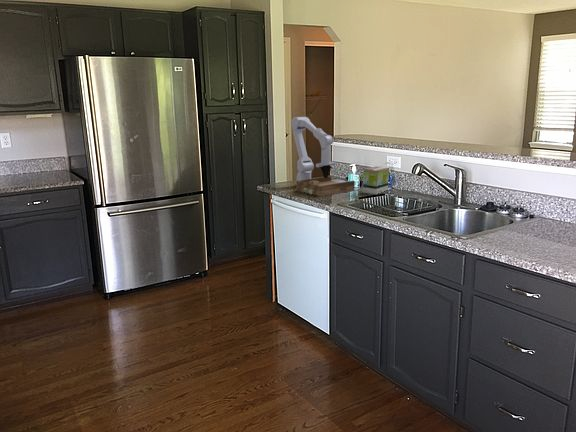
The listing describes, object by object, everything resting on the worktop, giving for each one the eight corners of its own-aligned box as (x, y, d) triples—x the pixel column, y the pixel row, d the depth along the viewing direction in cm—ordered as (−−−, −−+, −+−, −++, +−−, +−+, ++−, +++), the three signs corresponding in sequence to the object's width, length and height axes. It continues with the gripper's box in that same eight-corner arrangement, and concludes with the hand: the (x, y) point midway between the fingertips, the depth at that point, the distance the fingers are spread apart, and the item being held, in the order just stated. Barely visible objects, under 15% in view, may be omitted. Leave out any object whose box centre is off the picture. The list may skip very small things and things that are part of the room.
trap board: (296, 190, 315) (296, 181, 314) (330, 185, 332) (330, 175, 331) (320, 196, 299) (320, 186, 297) (354, 190, 315) (354, 180, 314)
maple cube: (309, 187, 309) (309, 181, 308) (314, 186, 312) (314, 180, 311) (313, 188, 306) (313, 181, 305) (318, 187, 309) (318, 181, 308)
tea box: (377, 195, 302) (378, 170, 299) (362, 192, 308) (362, 168, 305) (388, 190, 314) (389, 166, 310) (374, 188, 320) (374, 165, 316)
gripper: (321, 157, 303) (321, 180, 306) (339, 155, 311) (338, 177, 315) (313, 156, 308) (313, 178, 311) (331, 154, 317) (330, 175, 320)
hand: (325, 177), depth 313 cm, fingers closed
